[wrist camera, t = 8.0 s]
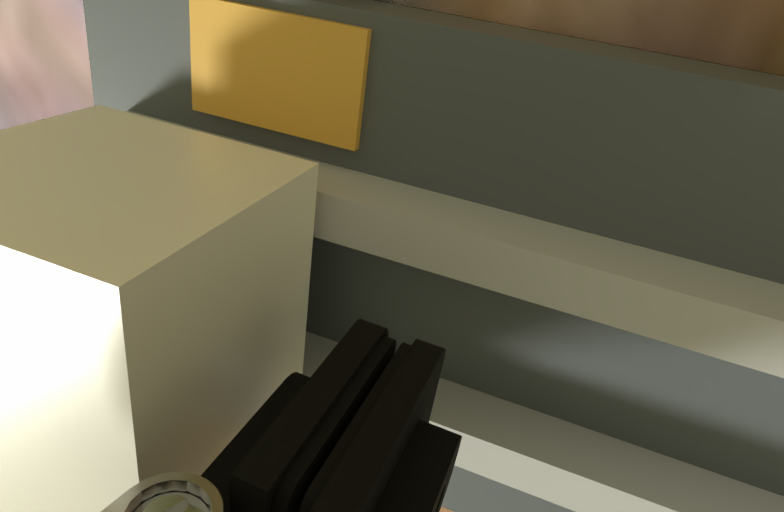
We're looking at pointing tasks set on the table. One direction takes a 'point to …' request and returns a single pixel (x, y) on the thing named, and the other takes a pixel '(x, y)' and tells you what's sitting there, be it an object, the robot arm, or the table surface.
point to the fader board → (514, 231)
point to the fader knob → (140, 300)
